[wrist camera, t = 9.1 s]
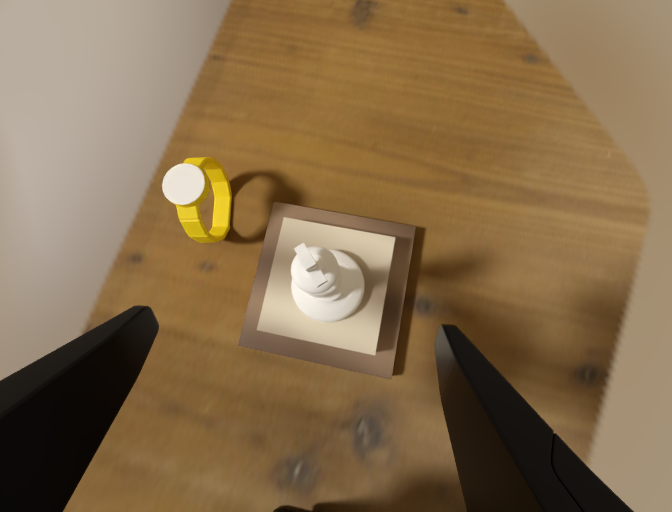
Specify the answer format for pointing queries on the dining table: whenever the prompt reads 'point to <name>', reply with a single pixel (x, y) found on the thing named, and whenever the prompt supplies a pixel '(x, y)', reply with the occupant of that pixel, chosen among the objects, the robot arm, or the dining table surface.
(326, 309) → the chess piece
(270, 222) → the build base
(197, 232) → the watch
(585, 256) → the dining table surface
